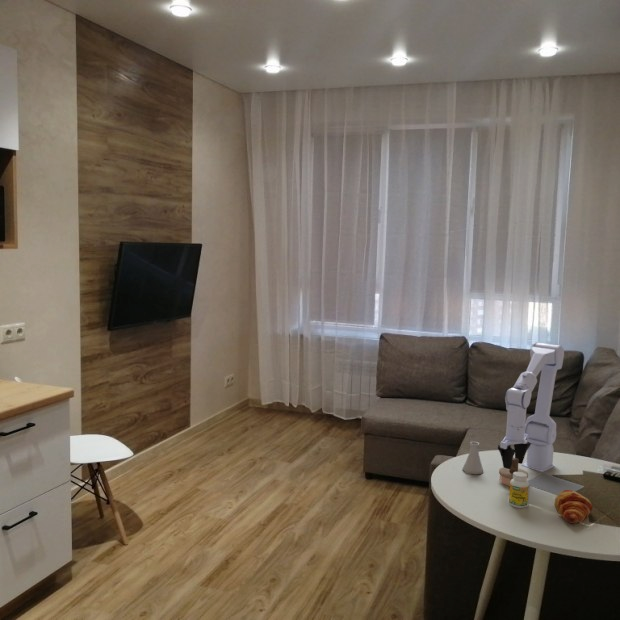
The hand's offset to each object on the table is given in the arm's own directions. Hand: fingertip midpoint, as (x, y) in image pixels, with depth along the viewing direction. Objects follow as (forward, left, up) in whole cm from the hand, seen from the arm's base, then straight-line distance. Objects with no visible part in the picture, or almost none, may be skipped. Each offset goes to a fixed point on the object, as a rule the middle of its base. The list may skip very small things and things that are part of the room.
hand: (512, 465), depth 200 cm
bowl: (0, 0, -6) cm, 6 cm away
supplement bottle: (+14, +10, -6) cm, 18 cm away
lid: (0, 0, -3) cm, 3 cm away
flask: (+1, -14, -6) cm, 15 cm away
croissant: (+6, +23, -6) cm, 25 cm away
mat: (-9, +10, -6) cm, 15 cm away
